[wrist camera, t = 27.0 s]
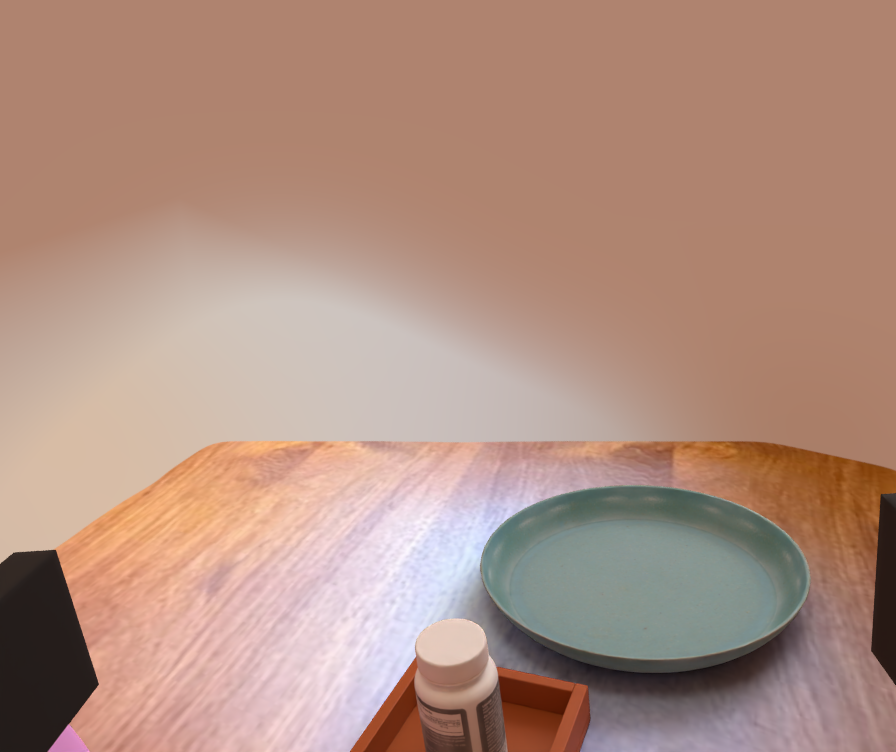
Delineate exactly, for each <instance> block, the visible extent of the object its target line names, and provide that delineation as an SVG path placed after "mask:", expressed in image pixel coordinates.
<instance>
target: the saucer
mask: <svg viewBox="0 0 896 752" xmlns="http://www.w3.org/2000/svg"><path fill="white" fill-rule="evenodd" d="M480 569H481V576H482V580H483V583H484V586H485V588H486V590H487V592H488V594H489V595H490V597H491V599H492V600H493V602H494V603H495V605H496V606H497V607H498V609H499V610H500V611H501V612H502V613H503V614H504V615H505V616H506V618H507V619H508V620H510V621H511V622H512V623H513V624H514V625H515V626H516V627H517V628H518V629H520V630H521V631H522V632H523V633H525V634H526V635H528V636H529V637H530V638H532V639H533V640H535V641H537V642H538V643H540V644H542V645H544V646H546V647H547V648H549V649H551V650H553V651H555V652H557V653H560V654H562V655H564V656H567V657H569V658H572V659H574V660H577V661H580V662H584V663H587V664H591V665H595V666H599V667H603V668H608V669H614V670H621V671H629V672H640V673H668V672H683V671H689V670H695V669H701V668H706V667H710V666H714V665H718V664H722V663H725V662H728V661H731V660H733V659H736V658H738V657H741V656H744V655H746V654H748V653H750V652H752V651H754V650H756V649H758V648H759V647H761V646H763V645H764V644H766V643H767V642H769V641H770V640H772V639H773V638H774V637H776V636H777V635H778V634H779V633H780V632H782V631H783V630H784V629H785V628H786V627H787V626H788V625H789V624H790V623H791V621H792V620H793V619H794V618H795V617H796V615H797V614H798V612H799V611H800V609H801V608H802V606H803V604H804V602H805V600H806V599H807V596H808V593H809V588H810V580H811V579H810V570H809V566H808V563H807V561H806V558H805V556H804V554H803V552H802V551H801V549H800V548H799V546H798V545H797V544H796V543H795V542H794V540H793V539H792V538H791V537H790V536H789V535H788V534H787V533H786V532H784V531H783V530H782V529H781V528H780V527H778V526H777V525H776V524H774V523H773V522H771V521H770V520H768V519H767V518H765V517H763V516H761V515H760V514H758V513H756V512H754V511H752V510H750V509H748V508H746V507H743V506H741V505H739V504H736V503H734V502H731V501H728V500H725V499H722V498H719V497H715V496H712V495H708V494H704V493H700V492H695V491H690V490H685V489H678V488H672V487H662V486H649V485H620V486H604V487H596V488H589V489H583V490H578V491H573V492H569V493H565V494H561V495H558V496H554V497H551V498H548V499H545V500H543V501H540V502H538V503H536V504H533V505H531V506H529V507H527V508H525V509H523V510H521V511H520V512H518V513H516V514H515V515H513V516H512V517H510V518H509V519H507V520H506V521H505V522H504V523H503V524H502V525H500V526H499V528H498V529H497V530H496V531H495V532H494V533H493V534H492V536H491V537H490V538H489V540H488V542H487V543H486V545H485V547H484V550H483V553H482V557H481V563H480Z"/></svg>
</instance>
